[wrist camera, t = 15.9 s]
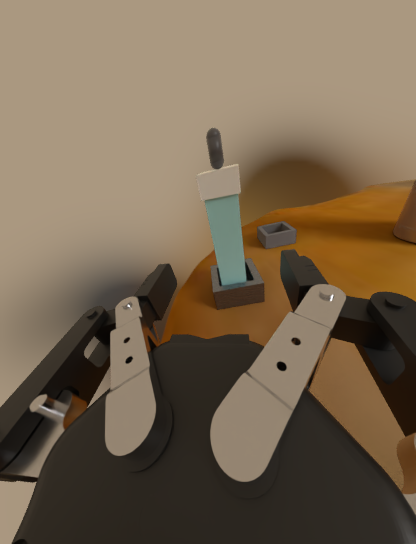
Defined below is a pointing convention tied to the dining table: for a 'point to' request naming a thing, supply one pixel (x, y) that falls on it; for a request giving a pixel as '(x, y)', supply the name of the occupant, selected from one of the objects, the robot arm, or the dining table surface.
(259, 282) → the tray
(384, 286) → the dining table surface
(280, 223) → the holster
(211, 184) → the plug
